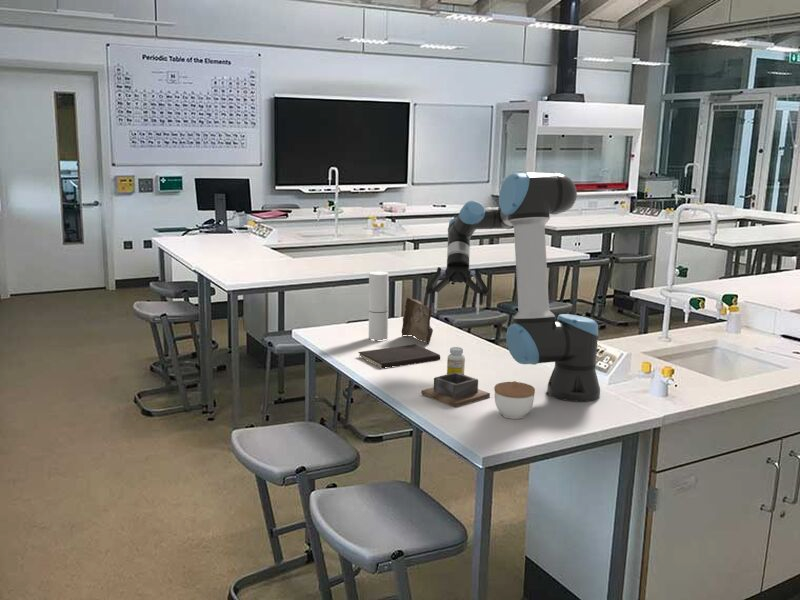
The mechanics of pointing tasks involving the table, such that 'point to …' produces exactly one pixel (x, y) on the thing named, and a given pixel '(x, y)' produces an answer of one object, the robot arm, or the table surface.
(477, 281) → the robot arm
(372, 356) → the hardcover book
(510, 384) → the lidded jar
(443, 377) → the wooden square holder
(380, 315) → the cylindrical container
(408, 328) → the mineral sample
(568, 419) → the table surface
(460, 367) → the supplement bottle
